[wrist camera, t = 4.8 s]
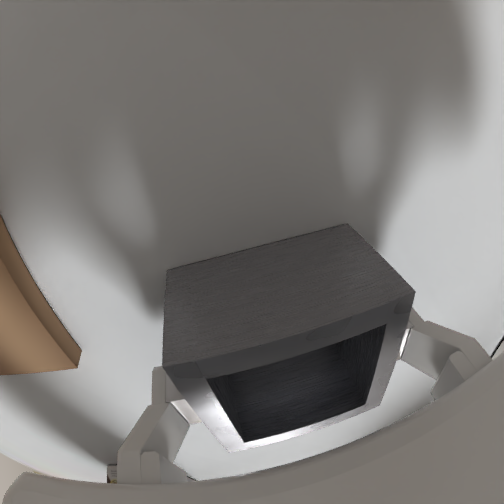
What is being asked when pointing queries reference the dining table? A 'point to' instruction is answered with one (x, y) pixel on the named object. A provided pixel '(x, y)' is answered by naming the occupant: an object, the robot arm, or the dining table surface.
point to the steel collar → (284, 335)
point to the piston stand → (28, 321)
